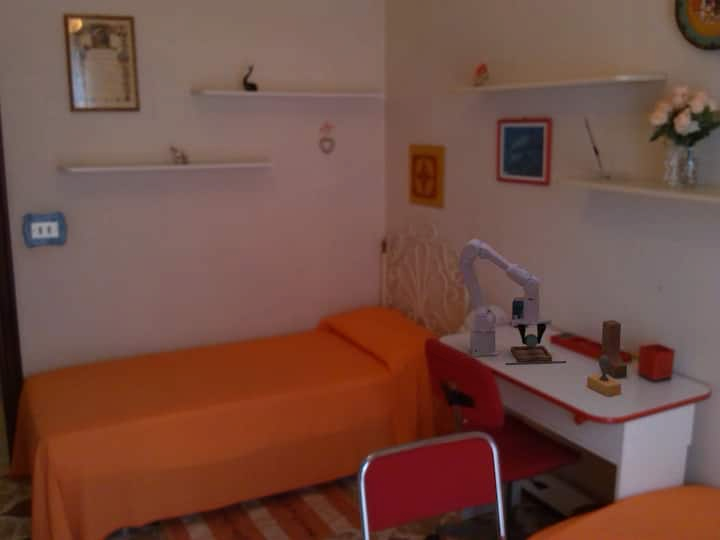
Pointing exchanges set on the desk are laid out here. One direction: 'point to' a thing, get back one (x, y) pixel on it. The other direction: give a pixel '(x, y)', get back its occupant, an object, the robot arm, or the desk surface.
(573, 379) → the desk surface
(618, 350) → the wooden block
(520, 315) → the soda can
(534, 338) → the ball
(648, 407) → the desk surface
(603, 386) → the rubber stamp
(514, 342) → the desk surface
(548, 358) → the tray
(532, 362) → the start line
